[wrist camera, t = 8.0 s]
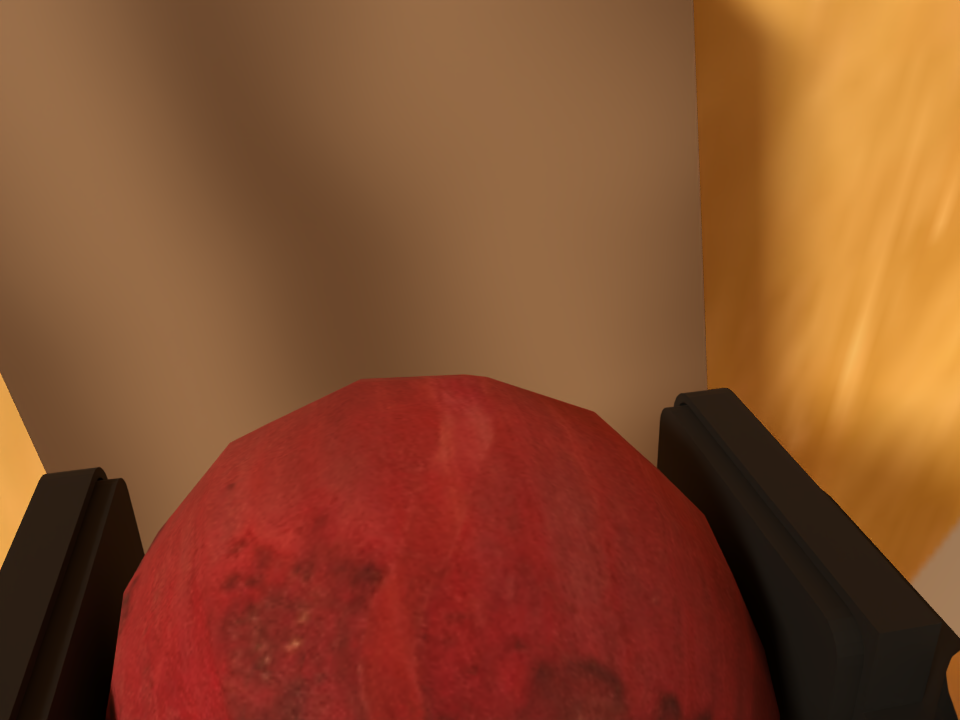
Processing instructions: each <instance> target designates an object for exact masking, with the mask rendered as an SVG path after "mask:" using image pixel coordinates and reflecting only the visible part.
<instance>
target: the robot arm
mask: <svg viewBox="0 0 960 720" xmlns="http://www.w3.org/2000/svg"><path fill="white" fill-rule="evenodd" d="M657 468H658V469H659V470H660V471H661V472H662V473H663V474H664V475H665V476H666V477H667V478H668V479H669V480H670V481H671V482H672V483H673V484H674V485H675V486H676V487H677V488H678V489H679V490H680V491H681V492H682V493H683V494H684V495H685V496H686V497H687V498H688V499H689V500H690V501H691V502H692V503H693V504H694V505H695V506H696V507H697V508H698V509H699V510H700V511H701V512H702V513H703V514H704V515H705V517H706V519H707V521H708V523H709V525H710V528H711V530H712V532H713V534H714V536H715V538H716V540H717V542H718V545H719V547H720V549H721V551H722V553H723V555H724V557H725V559H726V562H727V564H728V566H729V568H730V570H731V572H732V574H733V576H734V579H735V581H736V583H737V586H738V588H739V590H740V593H741V595H742V598H743V600H744V602H745V605H746V607H747V609H748V612H749V614H750V616H751V619H752V621H753V623H754V626H755V628H756V631H757V633H758V635H759V638H760V640H761V642H762V645H763V647H764V649H765V654H766V658H767V662H768V667H769V671H770V675H771V679H772V684H773V688H774V692H775V696H776V701H777V705H778V709H779V713H780V720H960V638H959V637H958V636H957V635H956V634H955V633H954V631H953V630H952V629H951V628H950V627H949V626H948V625H947V624H946V623H945V622H944V620H943V619H942V618H941V617H940V616H939V615H938V614H937V613H936V612H935V611H934V609H932V607H931V606H930V605H929V604H928V603H927V602H926V601H925V600H924V599H923V597H922V596H921V595H920V594H919V593H918V592H917V591H916V590H915V589H914V588H913V586H912V585H911V584H910V583H909V582H908V581H907V580H906V579H905V578H904V577H903V575H902V574H901V573H900V572H899V571H898V570H897V569H896V568H895V567H894V566H893V565H892V563H891V562H890V561H889V560H888V559H887V558H886V557H885V556H884V555H883V554H882V552H881V551H880V550H879V549H878V548H877V547H876V546H875V545H874V544H873V543H872V541H871V540H870V539H869V538H868V537H867V536H866V535H865V534H864V533H863V532H862V531H861V529H860V528H859V527H858V526H857V525H856V524H855V523H854V522H853V521H852V520H851V518H850V517H849V516H848V515H847V514H846V513H845V512H844V511H843V510H842V509H841V508H840V506H839V505H838V504H837V503H836V502H835V501H834V500H833V499H832V498H831V497H830V496H829V495H828V494H827V493H825V492H824V491H823V490H822V489H820V487H819V486H818V485H817V484H816V483H815V482H814V481H813V480H812V479H811V478H810V476H809V475H808V474H807V473H806V472H805V471H804V470H803V469H802V468H801V467H800V465H799V464H798V463H797V462H796V461H795V460H794V459H793V458H792V457H791V456H790V454H789V453H788V452H787V451H786V450H785V449H784V448H783V447H782V446H781V444H780V443H779V442H778V441H777V440H776V439H775V438H774V437H773V436H772V435H771V433H770V432H769V431H768V430H767V429H766V428H765V427H764V426H763V425H762V424H761V422H760V421H759V420H758V419H757V418H756V417H755V416H754V415H753V414H752V413H751V411H750V410H749V409H748V408H747V407H746V406H745V405H744V404H743V403H742V401H741V400H740V399H739V398H738V397H737V396H736V395H735V394H734V393H733V392H732V391H731V390H730V389H728V388H719V389H711V390H703V391H695V392H687V393H680V394H679V395H678V396H677V397H676V400H675V402H674V407H666V408H664V409H663V410H662V413H661V416H660V426H659V442H658V459H657ZM144 556H145V554H144V550H143V546H142V542H141V538H140V534H139V530H138V526H137V522H136V518H135V514H134V511H133V507H132V503H131V499H130V495H129V491H128V488H127V485H126V482H125V481H124V479H123V478H115V479H108V478H107V475H106V473H105V472H104V470H103V469H102V468H101V467H95V468H87V469H79V470H71V471H63V472H56V473H48V474H44V475H43V476H42V477H41V479H40V480H39V482H38V485H37V487H36V489H35V492H34V494H33V496H32V498H31V501H30V503H29V505H28V508H27V510H26V512H25V515H24V517H23V519H22V521H21V524H20V526H19V528H18V531H17V533H16V535H15V538H14V540H13V542H12V545H11V547H10V549H9V551H8V554H7V556H6V558H5V561H4V563H3V565H2V568H1V570H0V720H105V719H106V713H107V706H108V700H109V693H110V687H111V680H112V674H113V667H114V659H115V652H116V645H117V638H118V630H119V623H120V616H121V608H122V601H123V594H124V591H125V589H126V588H127V586H128V584H129V582H130V581H131V579H132V577H133V575H134V573H135V572H136V570H137V568H138V566H139V565H140V563H141V561H142V559H143V558H144Z"/></svg>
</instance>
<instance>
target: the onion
mask: <svg viewBox="0 0 960 720" xmlns="http://www.w3.org/2000/svg"><path fill="white" fill-rule="evenodd" d="M105 720H780V713H779V709H778V705H777V701H776V696H775V692H774V688H773V684H772V679H771V675H770V671H769V667H768V662H767V658H766V654H765V649H764V647H763V645H762V642H761V640H760V638H759V635H758V633H757V631H756V628H755V626H754V623H753V621H752V619H751V616H750V614H749V612H748V609H747V607H746V605H745V602H744V600H743V598H742V595H741V593H740V590H739V588H738V586H737V583H736V581H735V579H734V576H733V574H732V572H731V570H730V568H729V566H728V564H727V562H726V559H725V557H724V555H723V553H722V551H721V549H720V547H719V545H718V542H717V540H716V538H715V536H714V534H713V532H712V530H711V528H710V525H709V523H708V521H707V519H706V517H705V515H704V514H703V513H702V512H701V511H700V510H699V509H698V508H697V507H696V506H695V505H694V504H693V503H692V502H691V501H690V500H689V499H688V498H687V497H686V496H685V495H684V494H683V493H682V492H681V491H680V490H679V489H678V488H677V487H676V486H675V485H674V484H673V483H672V482H671V481H670V480H669V479H668V478H667V477H666V476H665V475H664V474H663V473H662V472H661V471H660V470H659V469H658V468H656V467H655V466H654V465H653V464H652V463H651V462H650V461H649V460H648V459H646V458H645V457H644V456H643V455H642V454H641V453H640V452H639V451H638V450H636V449H635V448H634V447H633V446H632V445H631V444H630V443H629V442H628V441H626V440H625V439H624V438H623V437H622V436H621V435H620V434H619V433H618V432H616V431H615V430H614V429H613V428H612V427H611V426H610V425H609V424H608V423H606V422H605V421H604V420H603V419H602V418H601V417H600V416H599V415H598V414H596V413H595V412H594V411H591V410H588V409H585V408H581V407H578V406H575V405H572V404H569V403H566V402H563V401H560V400H557V399H554V398H551V397H548V396H544V395H541V394H538V393H535V392H532V391H529V390H526V389H523V388H520V387H517V386H514V385H511V384H507V383H504V382H501V381H498V380H495V379H492V378H489V377H484V376H475V375H466V374H461V375H438V376H416V377H393V378H371V379H360V380H358V381H355V382H353V383H351V384H349V385H347V386H345V387H343V388H341V389H339V390H337V391H335V392H333V393H330V394H328V395H326V396H324V397H322V398H320V399H318V400H316V401H314V402H312V403H310V404H308V405H305V406H303V407H301V408H299V409H297V410H295V411H293V412H291V413H289V414H287V415H285V416H282V417H280V418H278V419H276V420H274V421H272V422H270V423H268V424H266V425H264V426H262V427H260V428H258V429H256V430H254V431H252V432H250V433H248V434H246V435H244V436H242V437H240V438H238V439H236V440H234V441H232V442H230V443H229V445H228V446H227V447H226V448H225V449H224V451H223V452H222V453H221V454H220V456H219V457H218V458H217V459H216V461H215V462H214V463H213V464H212V466H211V467H210V468H209V469H208V471H207V472H206V473H205V474H204V476H203V477H202V478H201V479H200V481H199V482H198V483H197V484H196V485H195V487H194V488H193V489H192V490H191V492H190V493H189V494H188V495H187V497H186V498H185V499H184V500H183V502H182V503H181V504H180V505H179V507H178V508H177V509H176V510H175V512H174V513H173V514H172V515H171V517H170V518H169V519H168V520H167V521H166V523H165V524H164V525H163V526H162V528H161V529H160V530H159V531H158V533H157V535H156V536H155V538H154V540H153V542H152V543H151V545H150V547H149V549H148V550H147V552H146V554H145V556H144V558H143V559H142V561H141V563H140V565H139V566H138V568H137V570H136V572H135V573H134V575H133V577H132V579H131V581H130V582H129V584H128V586H127V588H126V589H125V591H124V594H123V601H122V608H121V616H120V623H119V630H118V638H117V645H116V652H115V659H114V667H113V674H112V680H111V687H110V693H109V700H108V706H107V713H106V719H105Z"/></svg>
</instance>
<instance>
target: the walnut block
mask: <svg viewBox="0 0 960 720" xmlns="http://www.w3.org/2000/svg"><path fill="white" fill-rule="evenodd" d="M0 373H1V375H2V377H3V379H4V381H5V383H6V386H7V388H8V390H9V392H10V394H11V397H12V399H13V401H14V403H15V405H16V408H17V410H18V412H19V414H20V416H21V418H22V421H23V423H24V425H25V427H26V429H27V432H28V434H29V436H30V438H31V440H32V442H33V445H34V447H35V449H36V451H37V453H38V456H39V458H40V460H41V462H42V464H43V466H44V469H45V471H46V473H47V474H48V473H56V472H63V471H71V470H79V469H87V468H95V467H101V468H102V469H103V470H104V472H105V473H106V475H107V478H108V479H115V478H123V479H124V481H125V482H126V485H127V488H128V491H129V495H130V499H131V503H132V507H133V511H134V514H135V518H136V522H137V526H138V530H139V534H140V538H141V542H142V546H143V550H144V554H146V552H147V550H148V549H149V547H150V545H151V543H152V542H153V540H154V538H155V536H156V535H157V533H158V531H159V530H160V529H161V528H162V526H163V525H164V524H165V523H166V521H167V520H168V519H169V518H170V517H171V515H172V514H173V513H174V512H175V510H176V509H177V508H178V507H179V505H180V504H181V503H182V502H183V500H184V499H185V498H186V497H187V495H188V494H189V493H190V492H191V490H192V489H193V488H194V487H195V485H196V484H197V483H198V482H199V481H200V479H201V478H202V477H203V476H204V474H205V473H206V472H207V471H208V469H209V468H210V467H211V466H212V464H213V463H214V462H215V461H216V459H217V458H218V457H219V456H220V454H221V453H222V452H223V451H224V449H225V448H226V447H227V446H228V445H229V443H230V442H232V441H234V440H236V439H238V438H240V437H242V436H244V435H246V434H248V433H250V432H252V431H254V430H256V429H258V428H260V427H262V426H264V425H266V424H268V423H270V422H272V421H274V420H276V419H278V418H280V417H282V416H285V415H287V414H289V413H291V412H293V411H295V410H297V409H299V408H301V407H303V406H305V405H308V404H310V403H312V402H314V401H316V400H318V399H320V398H322V397H324V396H326V395H328V394H330V393H333V392H335V391H337V390H339V389H341V388H343V387H345V386H347V385H349V384H351V383H353V382H355V381H358V380H360V379H371V378H393V377H416V376H438V375H461V374H466V375H475V376H484V377H489V378H492V379H495V380H498V381H501V382H504V383H507V384H511V385H514V386H517V387H520V388H523V389H526V390H529V391H532V392H535V393H538V394H541V395H544V396H548V397H551V398H554V399H557V400H560V401H563V402H566V403H569V404H572V405H575V406H578V407H581V408H585V409H588V410H591V411H594V412H595V413H596V414H598V415H599V416H600V417H601V418H602V419H603V420H604V421H605V422H606V423H608V424H609V425H610V426H611V427H612V428H613V429H614V430H615V431H616V432H618V433H619V434H620V435H621V436H622V437H623V438H624V439H625V440H626V441H628V442H629V443H630V444H631V445H632V446H633V447H634V448H635V449H636V450H638V451H639V452H640V453H641V454H642V455H643V456H644V457H645V458H646V459H648V460H649V461H650V462H651V463H652V464H653V465H654V466H655V467H656V468H657V459H658V442H659V426H660V416H661V413H662V410H663V409H664V408H666V407H674V402H675V400H676V397H677V396H678V395H679V394H680V393H687V392H695V391H703V390H707V364H706V337H705V309H704V282H703V255H702V228H701V200H700V173H699V146H698V119H697V91H696V64H695V37H694V10H693V0H0Z"/></svg>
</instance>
